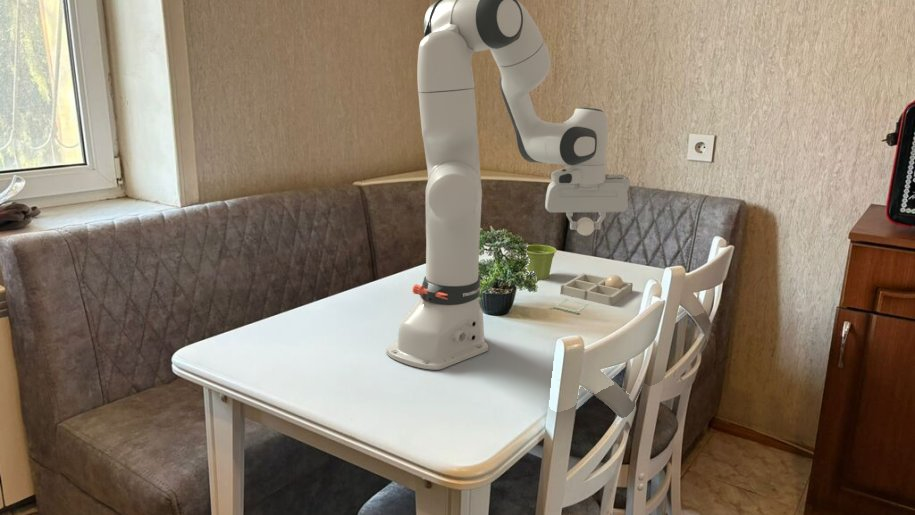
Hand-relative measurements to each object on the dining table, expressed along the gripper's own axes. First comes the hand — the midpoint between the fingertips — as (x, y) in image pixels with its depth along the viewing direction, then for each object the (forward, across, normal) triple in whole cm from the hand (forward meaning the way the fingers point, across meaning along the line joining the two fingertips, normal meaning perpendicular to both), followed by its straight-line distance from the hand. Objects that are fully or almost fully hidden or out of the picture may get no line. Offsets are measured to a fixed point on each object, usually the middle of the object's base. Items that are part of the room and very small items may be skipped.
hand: (585, 229), depth 173 cm
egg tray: (+18, -4, -2) cm, 19 cm away
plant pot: (+18, +10, -15) cm, 26 cm away
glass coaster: (+18, +4, +8) cm, 20 cm away
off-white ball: (+2, 0, 0) cm, 2 cm away
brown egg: (+18, -9, -3) cm, 20 cm away
